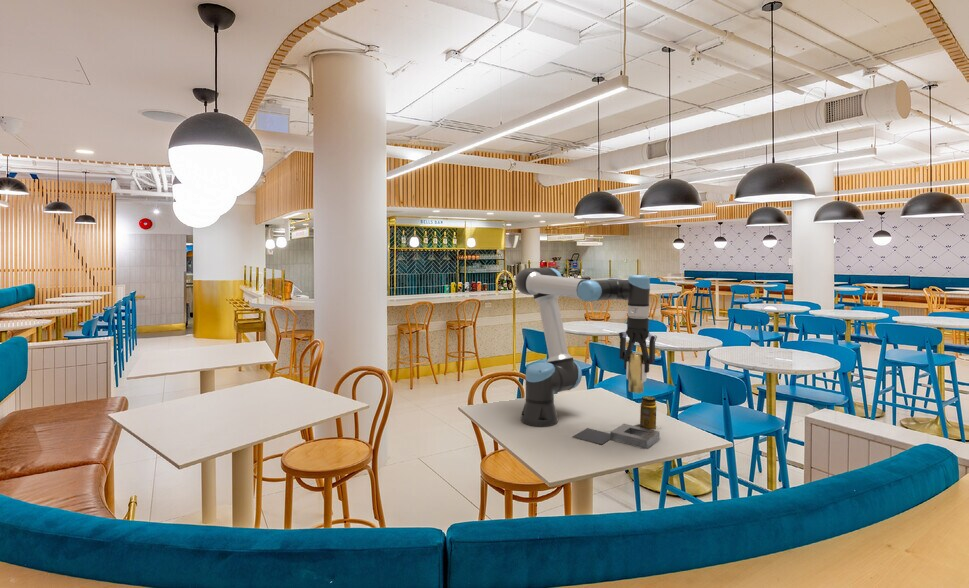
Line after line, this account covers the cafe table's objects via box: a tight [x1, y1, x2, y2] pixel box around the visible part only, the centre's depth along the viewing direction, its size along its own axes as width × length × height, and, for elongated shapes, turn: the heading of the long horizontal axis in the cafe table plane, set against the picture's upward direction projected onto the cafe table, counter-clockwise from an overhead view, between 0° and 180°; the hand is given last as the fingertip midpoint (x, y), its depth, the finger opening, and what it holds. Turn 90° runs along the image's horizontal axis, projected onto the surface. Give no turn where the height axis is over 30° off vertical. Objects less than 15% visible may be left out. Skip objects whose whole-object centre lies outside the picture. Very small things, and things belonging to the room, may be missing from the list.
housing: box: [609, 423, 661, 450], centre depth 185 cm, size 14×12×3 cm
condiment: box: [632, 395, 661, 431], centre depth 198 cm, size 7×8×12 cm
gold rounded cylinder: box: [628, 351, 644, 394], centre depth 183 cm, size 5×5×14 cm
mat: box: [571, 427, 611, 446], centre depth 188 cm, size 12×12×1 cm
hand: (636, 379), depth 183 cm, fingers closed on gold rounded cylinder, 5 cm apart
